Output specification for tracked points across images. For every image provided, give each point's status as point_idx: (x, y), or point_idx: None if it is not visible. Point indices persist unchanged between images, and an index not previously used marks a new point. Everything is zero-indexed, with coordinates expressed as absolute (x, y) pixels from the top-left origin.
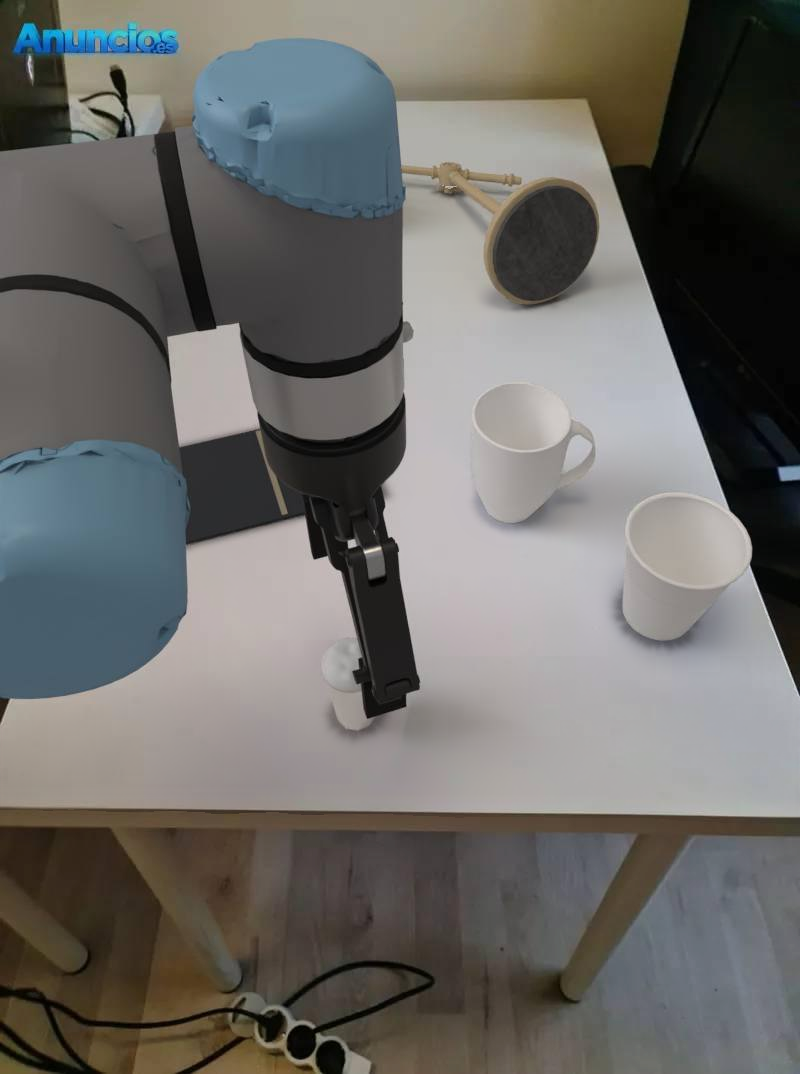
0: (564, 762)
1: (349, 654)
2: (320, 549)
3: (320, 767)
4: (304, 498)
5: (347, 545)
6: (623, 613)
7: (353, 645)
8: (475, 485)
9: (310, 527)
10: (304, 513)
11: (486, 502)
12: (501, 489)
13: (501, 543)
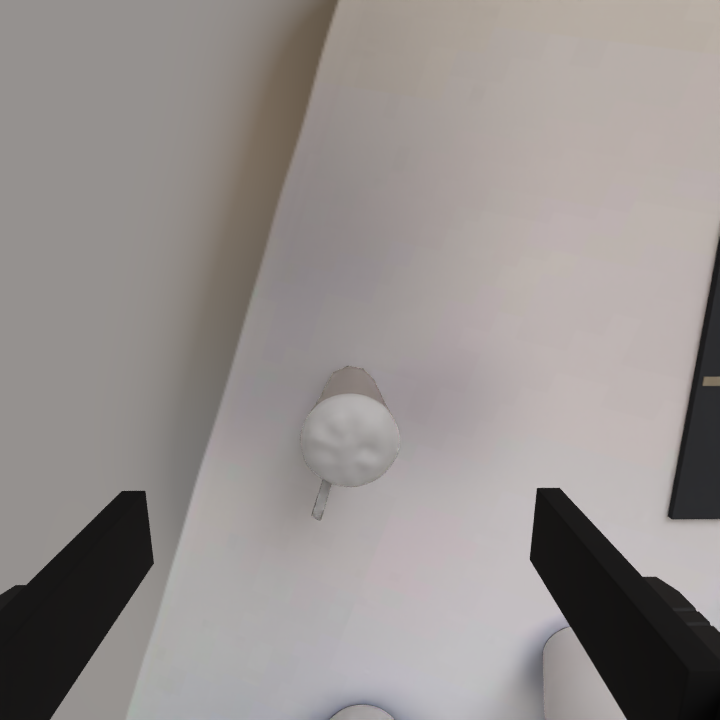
0: (220, 583)
1: (357, 449)
2: (549, 522)
3: (292, 327)
4: (708, 675)
5: (538, 570)
6: (370, 707)
7: (372, 460)
8: None
9: (601, 572)
10: (690, 407)
11: (581, 654)
12: (583, 713)
13: (521, 623)
